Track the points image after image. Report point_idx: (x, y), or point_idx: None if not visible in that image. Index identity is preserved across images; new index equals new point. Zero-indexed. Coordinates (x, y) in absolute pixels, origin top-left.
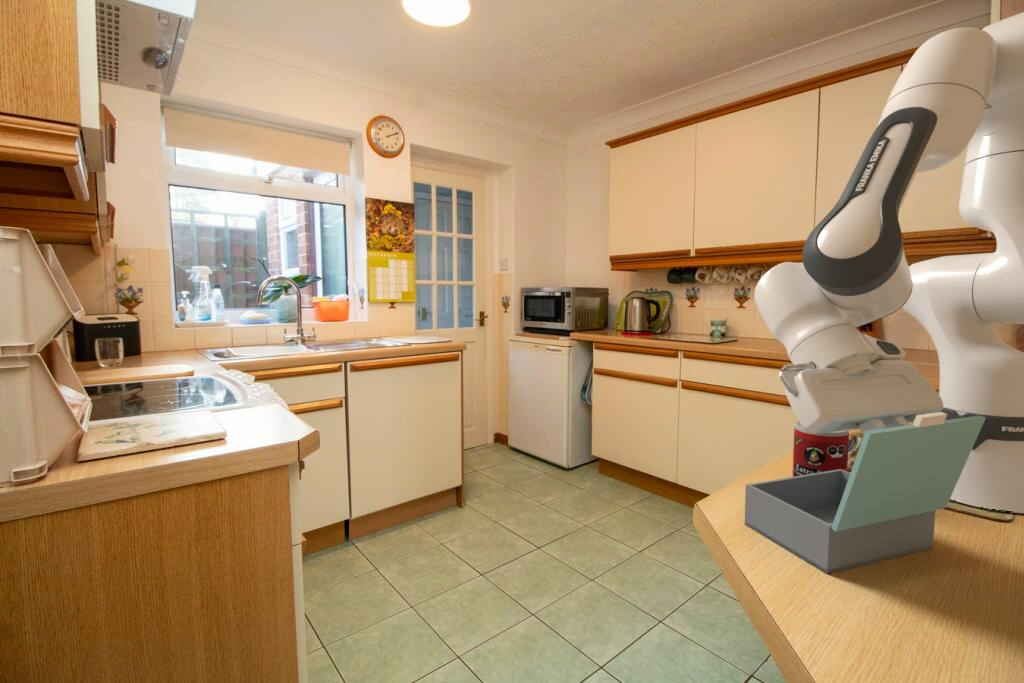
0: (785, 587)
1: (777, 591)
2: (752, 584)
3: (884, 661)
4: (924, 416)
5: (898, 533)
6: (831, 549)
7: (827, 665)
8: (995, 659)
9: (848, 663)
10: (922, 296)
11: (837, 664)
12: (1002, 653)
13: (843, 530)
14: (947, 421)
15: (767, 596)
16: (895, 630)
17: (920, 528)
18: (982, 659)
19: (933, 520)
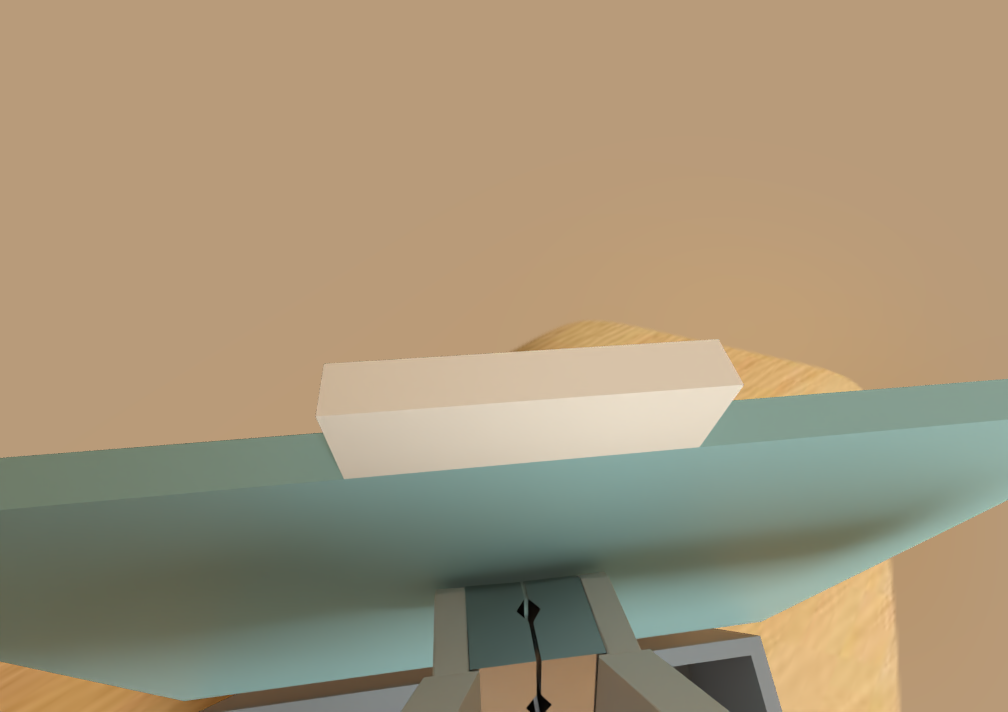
0: (817, 595)
1: (842, 585)
2: (891, 626)
3: (750, 374)
4: (669, 355)
5: (419, 670)
6: (705, 630)
7: (842, 387)
8: (577, 338)
9: (808, 383)
10: None
11: (826, 385)
12: (552, 344)
13: (685, 641)
14: (240, 460)
15: (872, 572)
16: None
17: (308, 685)
18: (596, 343)
19: (230, 699)
